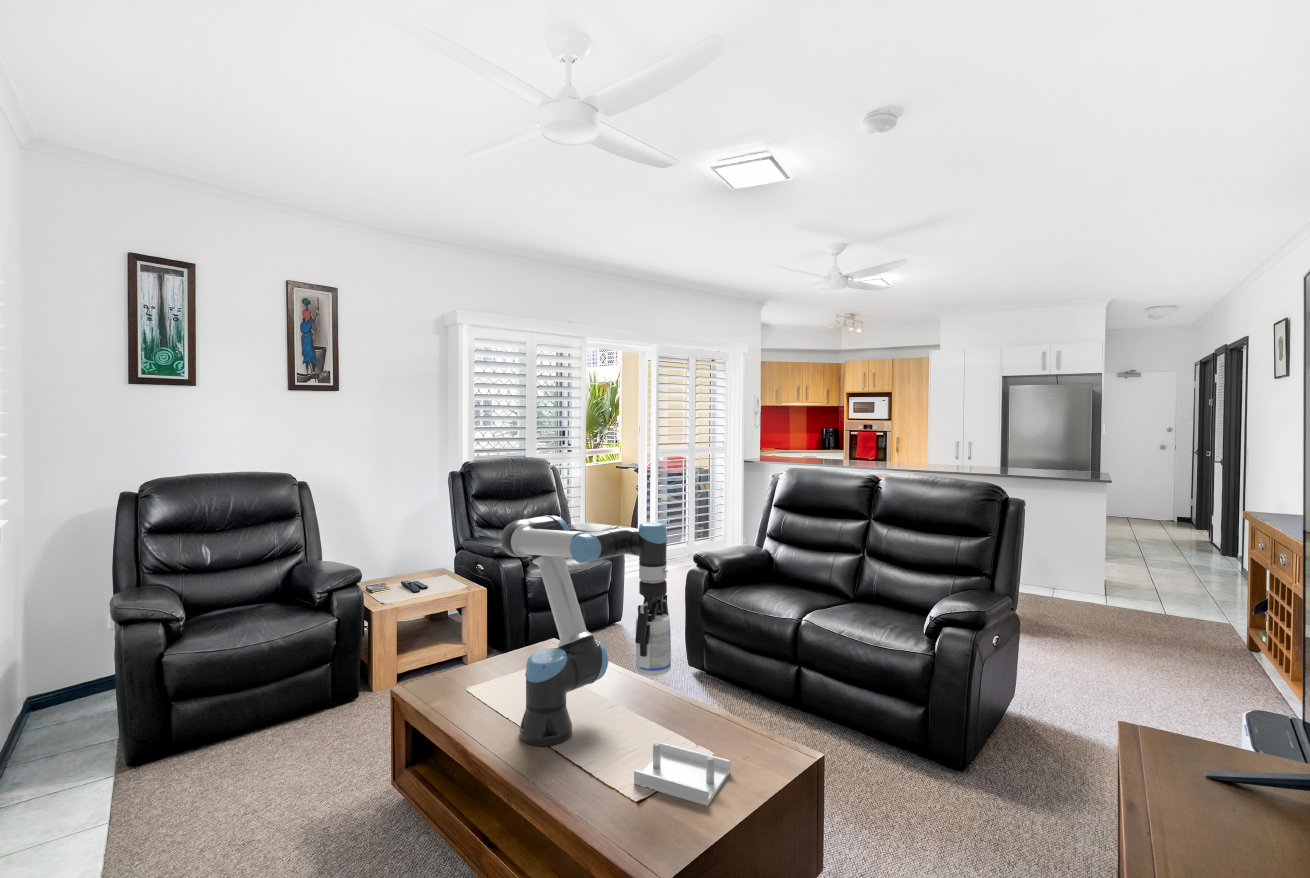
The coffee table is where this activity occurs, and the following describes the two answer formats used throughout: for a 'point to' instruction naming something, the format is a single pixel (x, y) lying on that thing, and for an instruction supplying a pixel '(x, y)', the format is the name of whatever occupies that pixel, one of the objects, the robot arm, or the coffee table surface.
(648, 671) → the supplement tub
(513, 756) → the coffee table surface
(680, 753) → the tray
